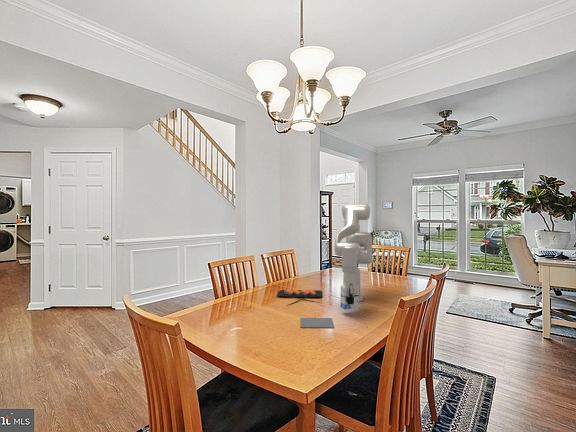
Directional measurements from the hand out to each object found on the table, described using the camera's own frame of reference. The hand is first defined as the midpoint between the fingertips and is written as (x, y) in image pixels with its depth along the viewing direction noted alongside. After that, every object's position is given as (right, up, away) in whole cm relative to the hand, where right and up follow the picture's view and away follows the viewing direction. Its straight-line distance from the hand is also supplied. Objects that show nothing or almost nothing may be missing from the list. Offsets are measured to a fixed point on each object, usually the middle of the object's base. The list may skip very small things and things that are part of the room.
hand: (349, 301), depth 163 cm
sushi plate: (-26, -7, +28) cm, 39 cm away
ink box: (0, -3, 0) cm, 3 cm away
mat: (-19, -7, -13) cm, 24 cm away
